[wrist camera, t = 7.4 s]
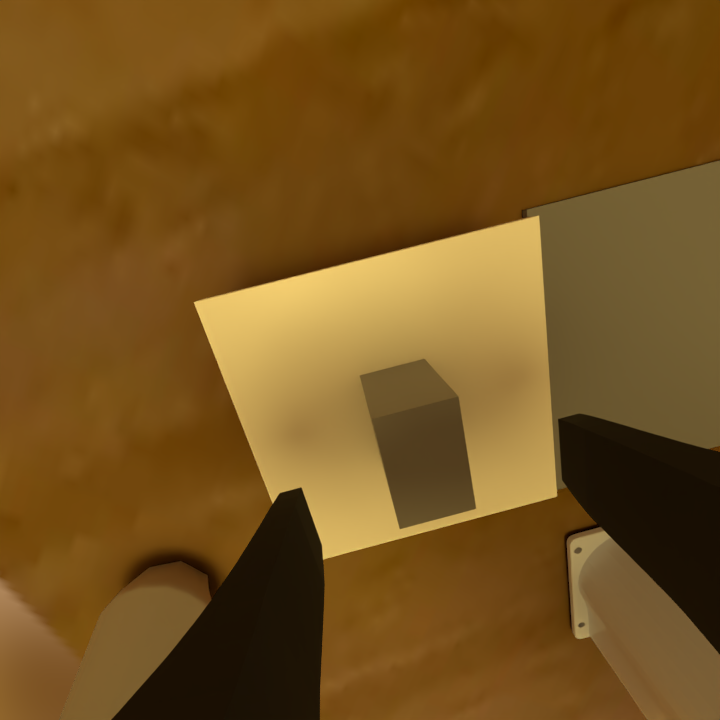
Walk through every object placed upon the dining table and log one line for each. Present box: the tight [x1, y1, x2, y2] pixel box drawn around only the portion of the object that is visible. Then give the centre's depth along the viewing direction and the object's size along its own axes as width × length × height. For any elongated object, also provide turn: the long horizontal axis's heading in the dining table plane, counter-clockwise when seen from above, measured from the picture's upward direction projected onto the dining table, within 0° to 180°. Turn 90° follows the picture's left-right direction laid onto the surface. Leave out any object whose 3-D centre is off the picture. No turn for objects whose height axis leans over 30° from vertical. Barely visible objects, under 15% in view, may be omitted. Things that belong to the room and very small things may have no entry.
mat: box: [522, 160, 720, 490], centre depth 19 cm, size 16×16×1 cm
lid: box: [194, 216, 557, 559], centre depth 12 cm, size 12×12×4 cm
